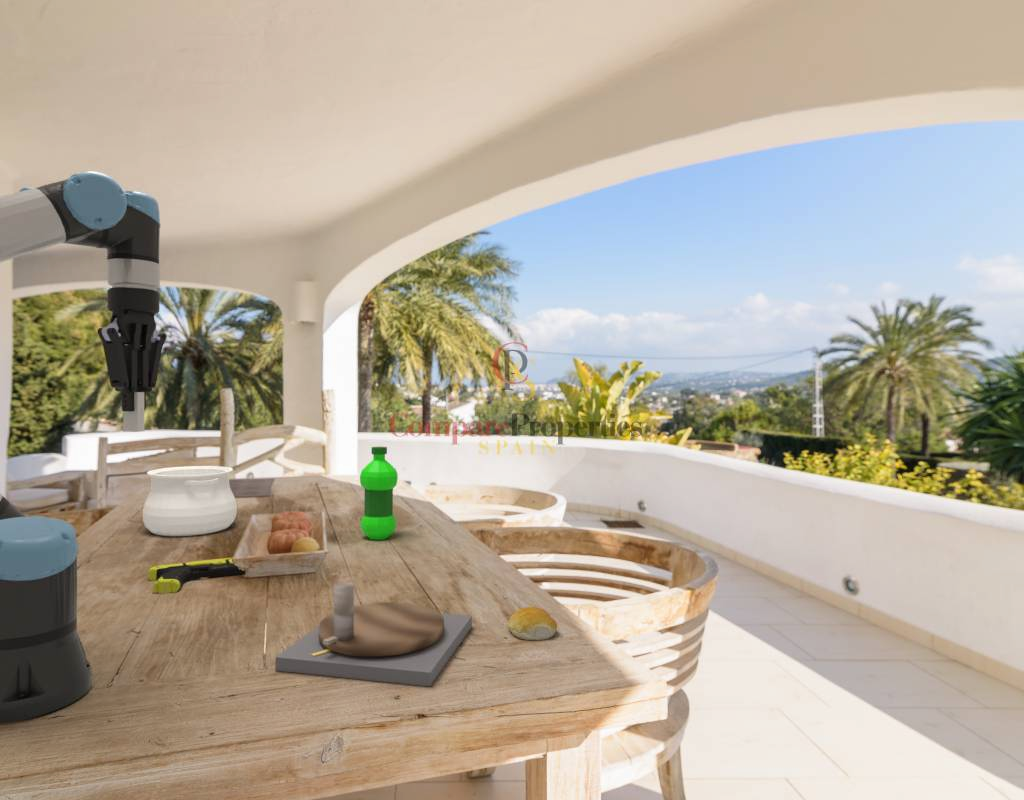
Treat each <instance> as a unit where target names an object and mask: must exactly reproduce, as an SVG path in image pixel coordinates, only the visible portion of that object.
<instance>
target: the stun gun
mask: <svg viewBox="0 0 1024 800" xmlns="http://www.w3.org/2000/svg"><path fill="white" fill-rule="evenodd" d="M232 558H233V557H225V558H216V559H215V558H213V559H205V560H196V561H195V560H194V561H188V562H187V561H186V562H180V563H168V564H161V565H160V564H159V565H155V566H152V567H150V568H149V569H148V580H149V581H154V582H153V584H152V592H153V594H172V593H177V592H178V591H179V589H181V588H182V586H183V584H184V583H185V582H189V581H190V580H194V579H203V578H209V579H214V578H223V577H230V576H231V577H233V576H242V575H245V574H246V570H245V571H242V570H239V569H238V567H237V566H235V565H234V564H233V562H232Z"/></svg>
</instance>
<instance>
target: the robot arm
mask: <svg viewBox="0 0 1024 800" xmlns="http://www.w3.org/2000/svg"><path fill="white" fill-rule="evenodd" d="M159 209H160V208H159V202H158V201H157V200H156V198H154V196H152V195H149V194H147V193H144V192H141V191H135V190H126V189H123V188H122V187H121V185H120V184H118V182H117V181H116V180H114V179H113V178H112V177H110V176H109V175H107V174H105V173H102V172H100V171H94V170H93V171H92V170H91V171H90V170H89V171H88V170H87V171H82V172H77V173H74V174H72V175H71V176H69V177H68V178H67V179H63V180H58V181H56V182H52V183H48V184H44V185H42V186H38V187H30V186H28V187H27V186H25V187H22V188H20V189H19V191H18V192H13V193H9V194H5V195H3V196H0V263H2V262H5V261H6V262H7V261H8V260H12V259H15V258H19V257H21V256H24V255H28V254H30V253H34V252H38V251H39V250H40V251H41V250H44V249H46V248H50V247H53V246H56V245H58V244H67V245H74V246H76V245H77V246H83V247H91V248H96V249H104V250H105V249H106V253H107V254H106V255H107V256H106V260H107V284H108V285H109V286H111V287H110V288H108V289H107V291H106V292H107V293H106V294H107V295H106V297H107V298H106V299H107V301H106V302H107V303H106V304H107V307H106V309H107V310H108V311H109V312H112V313H111V317H110V319H109V324H108V325H107V326H106V327H98V329H97V331H96V332H97V334H98V335H97V336H99V337H98V338H100V341H101V342H102V347H103V352H104V358H105V363H106V368H107V373H108V378H109V383H110V387H111V388H113V389H115V392H118V393H119V392H120V393H121V411H122V413H123V414H122V415H123V416H122V418H123V420H122V421H123V422H122V423H123V426H122V428H123V429H122V430H123V432H129V433H130V432H133V433H136V432H138V433H139V432H145V411H146V408H147V403H146V401H147V399H146V398H147V397H146V396H147V393H149V392H152V391H153V389H154V388H156V386H157V380H158V374H159V368H160V365H161V364H160V363H161V357H162V353H163V352H162V350H163V346H164V344H165V342H166V340H167V338H168V337H167V334H166V333H162V332H161V333H160V331H158V329H156V328H157V323H156V320H155V315H157V314H159V312H160V293H159V292H158V290H157V289H159V288H160V287H161V285H160V284H161V281H160V280H161V278H160V277H161V274H160V273H161V271H160V269H161V267H160V230H161V221H160V220H161V219H160V210H159ZM78 554H79V544H78V541H77V533H76V530H75V527H74V526H73V525H72V524H71V523H70V522H68V521H66V520H64V519H60V518H56V517H51V518H50V517H48V516H41V515H38V516H36V515H35V516H34V515H33V516H26V515H25V514H24V513H23V512H22V511H21V510H19V509H18V507H16V506H15V505H14V504H13V503H12V502H10V501H9V500H8V499H7V498H6V497H5V496H4V495H2V494H1V493H0V724H6V723H13V722H17V721H18V722H19V721H24V720H27V719H31V718H36V717H39V716H42V715H45V714H49V713H52V712H55V711H57V710H60V709H61V708H65V707H66V706H68V705H70V704H73V703H75V702H76V701H77V700H79V699H81V698H82V697H83V696H85V695H86V694H87V693H88V692H89V691H90V690H91V688H92V685H93V669H92V666H91V663H90V662H89V660H87V655H86V651H85V649H84V646H83V643H82V641H81V638H80V636H79V634H78Z"/></svg>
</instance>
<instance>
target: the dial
mask: <svg viewBox="0 0 1024 800" xmlns="http://www.w3.org/2000/svg"><path fill="white" fill-rule="evenodd" d="M440 613H441V612H439V611H437V610H435V609H433V608H431V607H427V606H426V605H425V606H424V605H421V604H417V603H415V604H414V603H409V602H393V601H392V602H391V601H390V602H388V601H387V602H373V603H365V604H358V605H355V584H354V583H353V582H346V581H345V582H343V581H342V582H339V583H335V584H333V613H331V614H329V615H327V616H326V617H324V618H323V619H322V620H321V621H320V623H319V624H318V625H319V641H320V643H321V644H322V645H323V646H325V647H326V648H328V649H330V650H332V651H335V652H338V653H342V654H346V655H353V656H366V657H377V656H391V655H399V654H404V653H409V652H413V651H416V650H420V649H422V648H425V647H427V646H429V645H431V644H433V643H435V642H436V641H438V640H439V639H440V638H441V637H442V635H443V633H444V618H443V616H442V615H441V614H440Z"/></svg>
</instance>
